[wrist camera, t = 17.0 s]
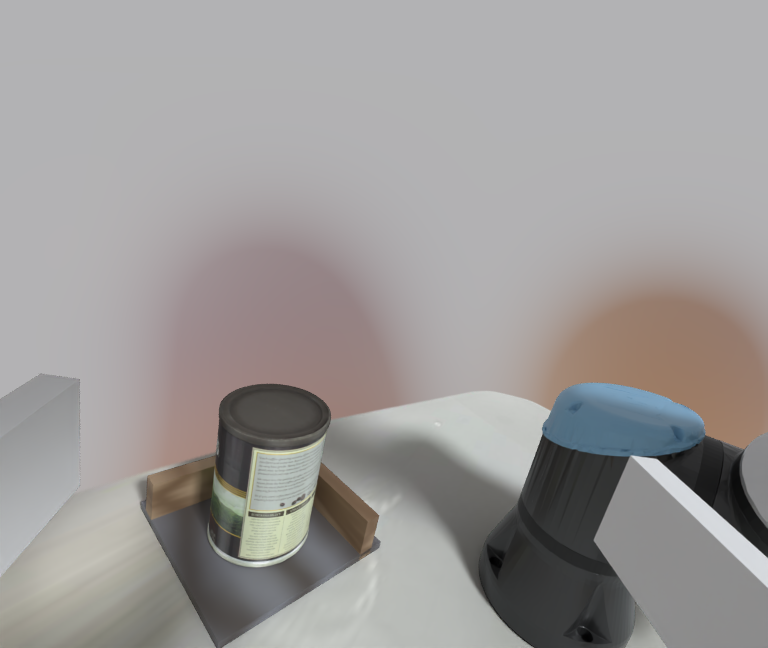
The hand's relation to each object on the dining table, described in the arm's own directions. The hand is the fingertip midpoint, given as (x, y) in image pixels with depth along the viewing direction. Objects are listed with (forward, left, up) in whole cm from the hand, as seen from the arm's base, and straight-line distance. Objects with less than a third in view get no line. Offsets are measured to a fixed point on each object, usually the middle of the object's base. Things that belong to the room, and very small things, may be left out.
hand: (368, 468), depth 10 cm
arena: (-15, -24, -30) cm, 41 cm away
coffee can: (-15, -24, -29) cm, 41 cm away
